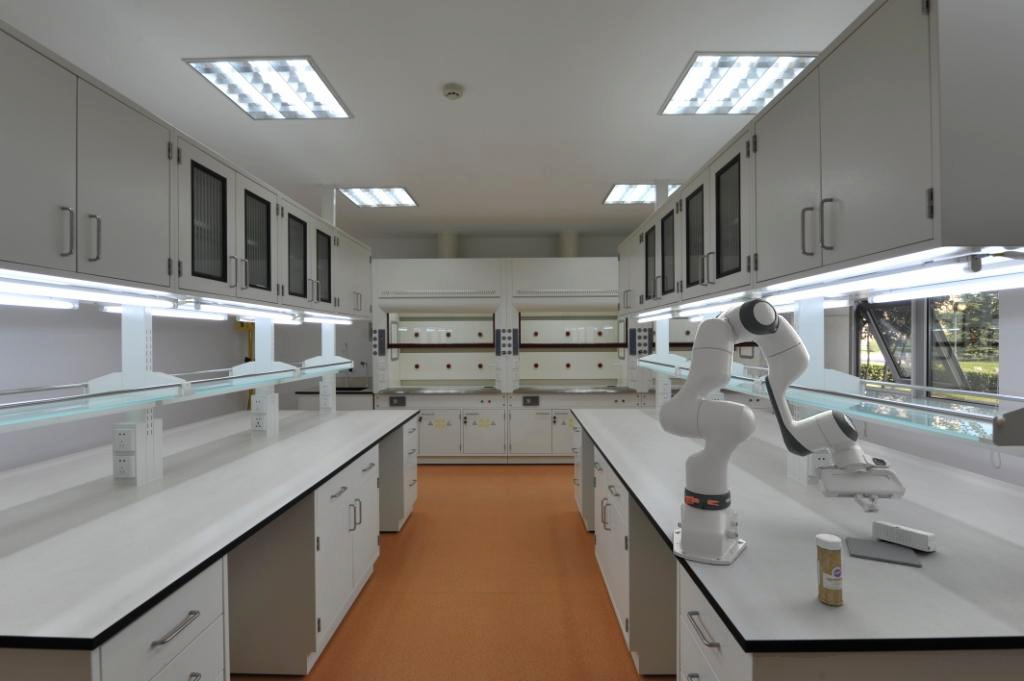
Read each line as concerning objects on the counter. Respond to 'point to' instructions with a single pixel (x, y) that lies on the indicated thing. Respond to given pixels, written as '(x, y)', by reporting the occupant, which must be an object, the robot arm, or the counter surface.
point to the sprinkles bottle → (829, 569)
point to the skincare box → (904, 536)
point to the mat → (882, 551)
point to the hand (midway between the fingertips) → (871, 511)
